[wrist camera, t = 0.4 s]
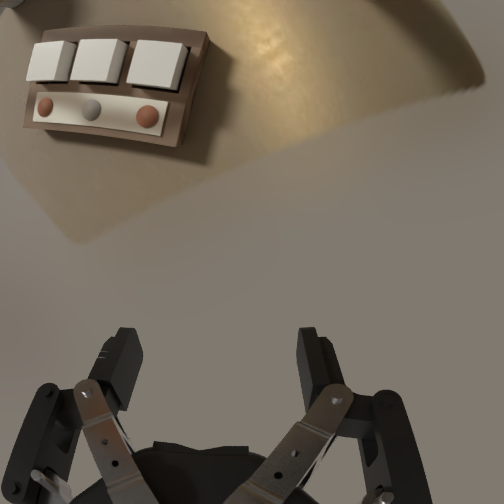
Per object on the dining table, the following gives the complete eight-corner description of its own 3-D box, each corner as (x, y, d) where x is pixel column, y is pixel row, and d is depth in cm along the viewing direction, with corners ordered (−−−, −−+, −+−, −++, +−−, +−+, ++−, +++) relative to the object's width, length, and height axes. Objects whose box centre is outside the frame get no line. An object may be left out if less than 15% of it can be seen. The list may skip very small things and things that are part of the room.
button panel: (59, 35, 26) (42, 30, 22) (210, 40, 29) (205, 30, 25) (39, 125, 32) (21, 128, 28) (182, 144, 35) (174, 147, 31)
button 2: (94, 44, 26) (80, 39, 22) (129, 45, 26) (117, 39, 23) (84, 81, 28) (69, 79, 24) (118, 83, 28) (106, 81, 25)
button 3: (50, 47, 25) (35, 43, 21) (78, 45, 25) (64, 40, 22) (41, 81, 27) (25, 80, 23) (69, 81, 27) (54, 79, 24)
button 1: (147, 46, 27) (137, 39, 23) (188, 50, 27) (182, 43, 24) (137, 85, 29) (126, 82, 25) (177, 90, 29) (169, 87, 26)
